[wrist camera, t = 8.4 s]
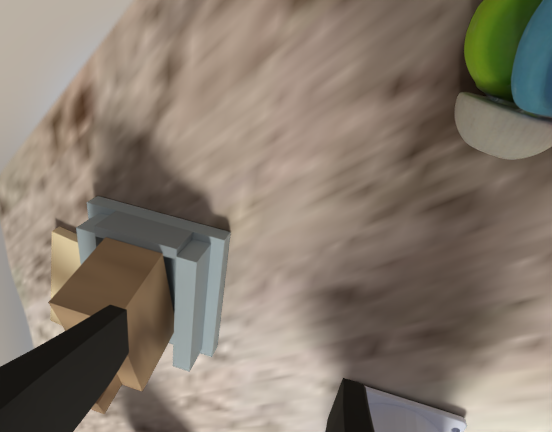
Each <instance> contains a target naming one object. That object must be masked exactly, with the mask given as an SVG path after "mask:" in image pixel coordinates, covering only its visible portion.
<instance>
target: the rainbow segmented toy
mask: <svg viewBox="0 0 552 432" xmlns="http://www.w3.org/2000/svg"><path fill="white" fill-rule="evenodd" d="M464 55H465V61H466V65H467V68H468V70H469V73H470V75H471V76H472V78H473V80H474V81H475V83H476V87H477V88H478V89H480V90H481V91H483V92H484V93H485V94H486V96H482V95H478V94H473V93H469V92H461V93H459V95H458V96H457V100H456V104H455V122H456V126H457V129H458V131H459V133H460V135H461V137H462V138H463V140H464V141H465V142H466V143H467V144H468V145H470V146H471V147H473V148H475V149H477V150H479V151H482V152H484V153H487V154H489V155H492V156H495V157H498V158H503V159H509V160H515V159H522V158H526V157H530V156H533V155H536V154H539V153H541V152H543V151H545V150H547V149H548V148H550V147H551V146H552V0H483V1H482V2H481V4H480V5H479V6H478V8H477V9H476V11H475V13H474V15H473V17H472V19H471V21H470V24H469V27H468V29H467V33H466V37H465V44H464Z"/></svg>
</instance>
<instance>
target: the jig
mask: <svg viewBox="0 0 552 432" xmlns="http://www.w3.org/2000/svg"><path fill="white" fill-rule="evenodd" d="M87 208H88V218H89V220H87V221H86V222H84V223H83V224H81V225H80V226H78V227H77V228H76V231H77V239H78V247H79V255H80V263H81V265H82V263H83V262H84V261H85V260H86V259H87V258H88V257H89V255H90V254H91V253H92V252H93V251H94V250H95V249H96V247H97V246H98V245H99V244H100V243H101V242H102V241H103V239H104V238H105V237H107V238H110V239H114V240H117V241H121V242H124V243H128V244H131V245H135V246H138V247H142V248H145V249H148V250H152V251H155V252H159V253H162V254H163V258H164V264H165V269H166V274H167V280H168V285H169V291H170V296H171V301H172V307H173V312H174V333H173V335H172V337H171V339H170V341H169V343H170V344H174V345H173V366H174V367H177V368H180V369H183V370H186V371H189V372H190V370H191V368H192V366H193V364H194V362H195V361H196V359H197V357H198V355H199V353H201V354H204V355H208V356H211V357H212V356H213V354H214V352H215V350H216V348H217V345H218V336H219V328H220V319H221V310H222V302H223V293H224V285H225V276H226V268H227V259H228V250H229V242H230V233H231V232H228V231H225V230H221V229H217V228H214V227H210V226H206V225H203V224H199V223H195V222H192V221H188V220H184V219H181V218H177V217H173V216H170V215H166V214H162V213H159V212H155V211H151V210H147V209H144V208H140V207H136V206H133V205H129V204H125V203H122V202H118V201H114V200H111V199H107V198H103V197H100V196H97V197H95V198H93V199H92V200H90V201H88V202H87Z"/></svg>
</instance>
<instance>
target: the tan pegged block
mask: <svg viewBox="0 0 552 432" xmlns="http://www.w3.org/2000/svg"><path fill="white" fill-rule="evenodd" d="M48 303H49V304H50V306H51V308H52V309H53V311H54V313H55V314H56V316H57V318H58V319H59V321H60V322H61V324H62V326H63V327H64V329H65V331H66V330H68V329H70V328H71V327H73V326H75V325H76V324H78V323H80V322H81V321H83V320H85V319H86V318H88V317H90V316H91V315H93V314H95V313H96V312H98V311H100V310H101V309H103V308H105V307H107V306H108V305H110V304H111V305H114V306H117V307H120V308H123V309H126V310H127V322H128V341H129V354H128V355H127V357H126V359H125V360H124V362H123V364H122V365H121V367H120V369H119V370H118V372H117V374H116V375H115V377H114V378H113V380H112V382H111V383H110V384H109V386H108V387H107V388H106V390H105V391H104V392H103V394H102V395H101V396H100V397H99V399H98V400H97V401H96V403H95V404H94V405H93V407H92V408H91V409H92V410H94V411H97V412H100V413H102V414H105V412H106V411H107V409H108V407H109V406H110V404H111V402H112V400H113V399H114V397H115V395H116V394H117V392H118V390H119V388H120V387H121V385H125V386H128V387H131V388H134V389H136V390H139V391H143V389H144V388H145V386H146V384H147V382H148V380H149V378H150V376H151V374H152V373H153V371H154V369H155V367H156V365H157V363H158V361H159V360H160V358H161V356H162V354H163V352H164V350H165V348H166V347H167V345H168V343H169V341H170V339H171V337H172V335H173V333H174V312H173V307H172V301H171V296H170V291H169V285H168V280H167V274H166V269H165V264H164V258H163V254H162V253H159V252H155V251H152V250H148V249H145V248H142V247H138V246H135V245H131V244H128V243H124V242H121V241H117V240H114V239H110V238H107V237H105V238H104V239H103V241H102V242H101V243H100V244H99V245H98V246H97V247H96V249H95V250H94V251H93V252H92V253H91V254H90V255H89V257H88V258H87V259H86V260H85V261H84V262H83V263H82V265H81V266H80V267H79V268H78V269H77V270H76V271H75V273H74V274H73V275H72V276H71V277H70V278H69V279H68V281H67V282H66V283H65V284H64V285H63V286H62V287H61V289H60V290H59V291H58V292H57V293H56V294H55V295H54V296H53V298H52V299H51V300H50V301H49V302H48Z"/></svg>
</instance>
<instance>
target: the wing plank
mask: <svg viewBox="0 0 552 432" xmlns="http://www.w3.org/2000/svg"><path fill="white" fill-rule="evenodd" d="M80 266H81V263H80V255H79V247H78V239H77V234H75V233H73V232H71V231H68V230H66V229H64V228H62V227H58V228H57V229H55V230H53V231H52V258H51V299H52V298H53V296H54V295H55V294H56V293H57V292H58V291H59V290H60V289H61V287H62V286H63V285H64V284H65V283H66V282H67V281H68V279H69V278H70V277H71V276H72V275H73V274H74V273H75V271H76V270H77V269H78V268H79V267H80ZM51 321H53V322H55V323H58V324H60V325H62V324H61V322H60V321H59V319H58V318H57V316H56V314H55V313H54V311H53V309H52V308H51Z"/></svg>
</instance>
